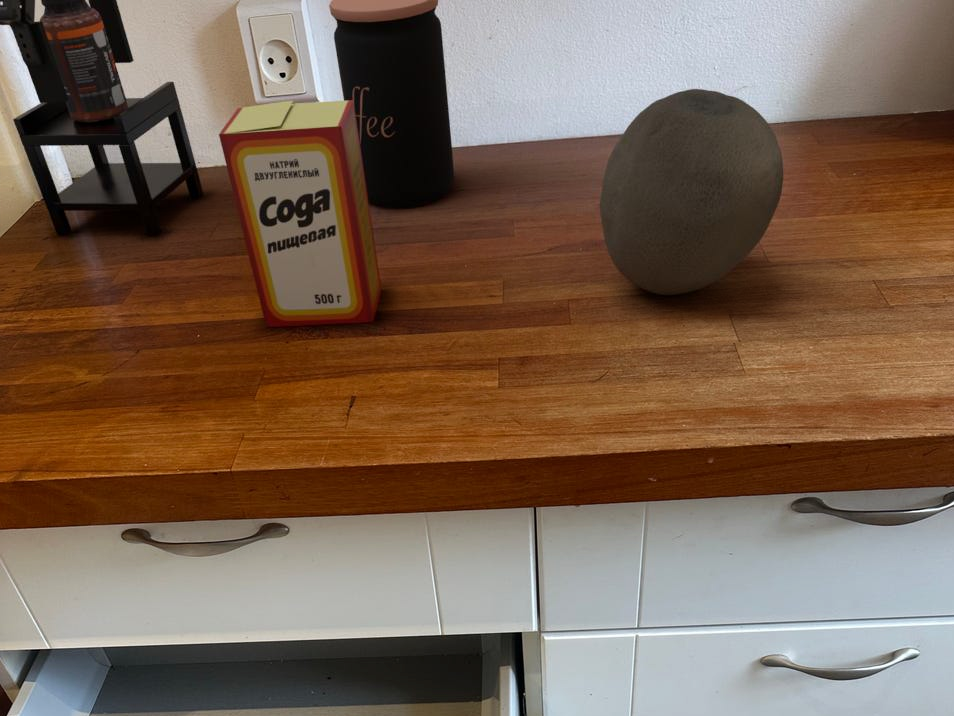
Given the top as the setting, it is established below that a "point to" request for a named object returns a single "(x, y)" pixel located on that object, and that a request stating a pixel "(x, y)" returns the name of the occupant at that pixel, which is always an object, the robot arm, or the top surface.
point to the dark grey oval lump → (689, 190)
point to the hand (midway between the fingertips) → (89, 81)
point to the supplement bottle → (84, 60)
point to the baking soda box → (304, 211)
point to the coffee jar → (396, 97)
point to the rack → (107, 181)
